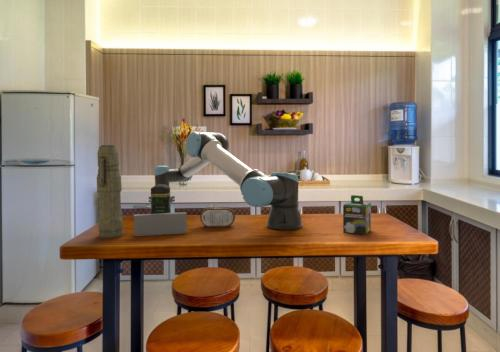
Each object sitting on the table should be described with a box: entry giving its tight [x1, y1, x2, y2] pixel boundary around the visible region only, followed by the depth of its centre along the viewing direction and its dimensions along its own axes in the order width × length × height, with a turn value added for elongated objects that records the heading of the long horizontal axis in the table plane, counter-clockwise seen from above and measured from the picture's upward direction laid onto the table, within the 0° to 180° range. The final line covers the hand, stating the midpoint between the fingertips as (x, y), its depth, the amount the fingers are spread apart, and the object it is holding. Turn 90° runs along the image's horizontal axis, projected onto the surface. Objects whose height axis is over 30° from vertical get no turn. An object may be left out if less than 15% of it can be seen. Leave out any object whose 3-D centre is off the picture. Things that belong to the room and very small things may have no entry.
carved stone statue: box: [96, 144, 124, 239], centre depth 138 cm, size 9×12×35 cm
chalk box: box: [342, 194, 372, 236], centre depth 143 cm, size 9×9×15 cm
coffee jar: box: [150, 184, 172, 214], centre depth 152 cm, size 10×8×19 cm
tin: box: [199, 206, 236, 228], centre depth 154 cm, size 15×3×8 cm, turn 92°
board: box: [133, 211, 188, 237], centre depth 141 cm, size 3×20×8 cm, turn 103°
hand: (161, 204), depth 161 cm, fingers closed
